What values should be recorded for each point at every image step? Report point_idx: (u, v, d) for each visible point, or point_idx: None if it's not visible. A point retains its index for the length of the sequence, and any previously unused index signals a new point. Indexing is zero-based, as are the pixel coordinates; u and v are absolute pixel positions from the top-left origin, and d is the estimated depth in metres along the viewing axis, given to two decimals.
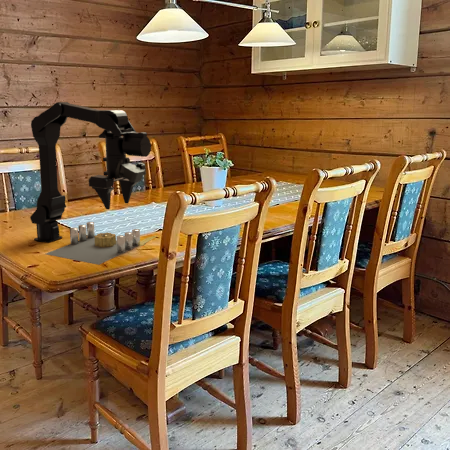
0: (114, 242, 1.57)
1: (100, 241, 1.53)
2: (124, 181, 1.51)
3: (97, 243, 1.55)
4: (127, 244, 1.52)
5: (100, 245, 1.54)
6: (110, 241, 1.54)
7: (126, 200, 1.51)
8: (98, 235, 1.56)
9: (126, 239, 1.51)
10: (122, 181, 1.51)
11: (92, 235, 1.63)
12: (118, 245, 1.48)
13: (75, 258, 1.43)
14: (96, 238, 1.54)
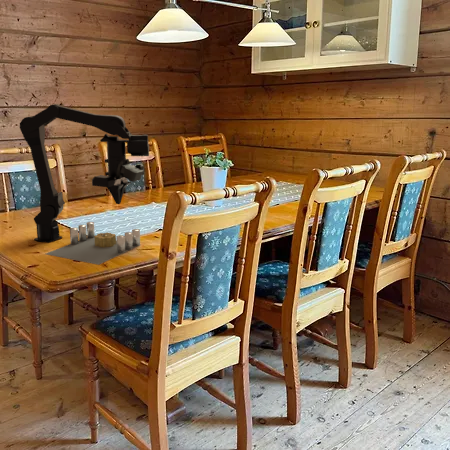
0: (114, 242, 1.57)
1: (100, 241, 1.53)
2: None
3: (97, 243, 1.55)
4: (127, 244, 1.52)
5: (100, 245, 1.54)
6: (110, 241, 1.54)
7: None
8: (98, 235, 1.56)
9: (126, 239, 1.51)
10: None
11: (92, 235, 1.63)
12: (118, 245, 1.48)
13: (75, 258, 1.43)
14: (96, 238, 1.54)
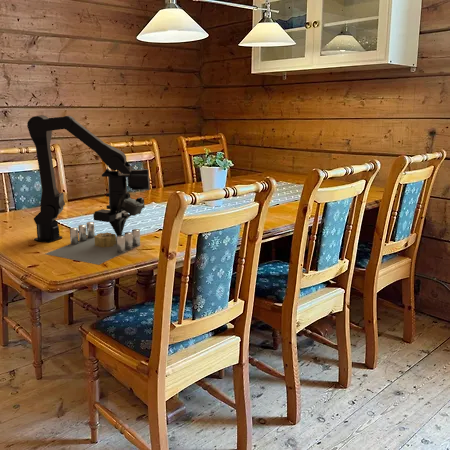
0: (114, 242, 1.57)
1: (100, 241, 1.53)
2: None
3: (97, 243, 1.55)
4: (127, 244, 1.52)
5: (100, 245, 1.54)
6: (110, 241, 1.54)
7: None
8: (98, 235, 1.56)
9: (126, 239, 1.51)
10: None
11: (92, 235, 1.63)
12: (118, 245, 1.48)
13: (75, 258, 1.43)
14: (96, 238, 1.54)
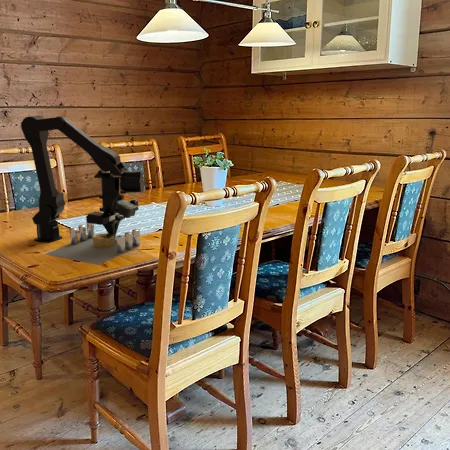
0: (113, 243, 1.56)
1: (98, 241, 1.53)
2: None
3: (96, 244, 1.54)
4: (127, 244, 1.52)
5: (98, 246, 1.53)
6: (109, 242, 1.54)
7: None
8: (97, 236, 1.55)
9: (126, 239, 1.51)
10: None
11: (92, 235, 1.63)
12: (118, 245, 1.48)
13: (75, 258, 1.43)
14: (95, 239, 1.54)
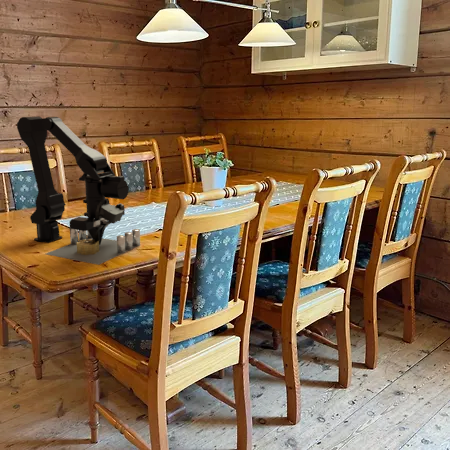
0: (97, 249, 1.49)
1: (81, 248, 1.46)
2: None
3: (79, 250, 1.48)
4: (127, 244, 1.52)
5: (81, 253, 1.47)
6: (92, 248, 1.47)
7: None
8: (80, 242, 1.49)
9: (126, 239, 1.51)
10: None
11: None
12: (118, 245, 1.48)
13: (75, 258, 1.43)
14: (78, 245, 1.47)
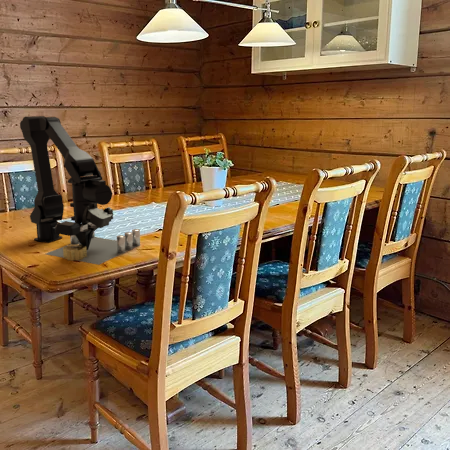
0: (84, 255, 1.44)
1: (68, 253, 1.41)
2: None
3: (66, 256, 1.43)
4: (127, 244, 1.52)
5: (68, 258, 1.42)
6: (79, 254, 1.42)
7: (86, 247, 1.48)
8: (67, 247, 1.44)
9: (126, 239, 1.51)
10: None
11: (92, 235, 1.63)
12: (118, 245, 1.48)
13: None
14: (64, 250, 1.42)
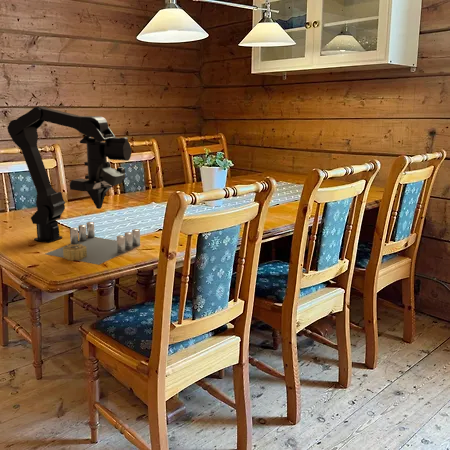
0: (84, 255, 1.44)
1: (68, 253, 1.41)
2: None
3: (66, 256, 1.43)
4: (127, 244, 1.52)
5: (68, 258, 1.42)
6: (79, 254, 1.42)
7: None
8: (67, 247, 1.44)
9: (126, 239, 1.51)
10: None
11: (92, 235, 1.63)
12: (118, 245, 1.48)
13: None
14: (64, 250, 1.42)
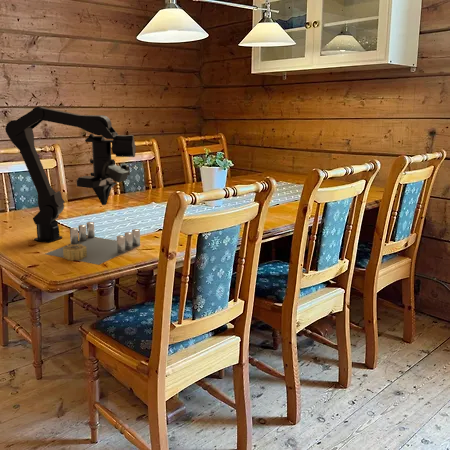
0: (84, 255, 1.44)
1: (68, 253, 1.41)
2: None
3: (66, 256, 1.43)
4: (127, 244, 1.52)
5: (68, 258, 1.42)
6: (79, 254, 1.42)
7: None
8: (67, 247, 1.44)
9: (126, 239, 1.51)
10: None
11: (92, 235, 1.63)
12: (118, 245, 1.48)
13: None
14: (64, 250, 1.42)
